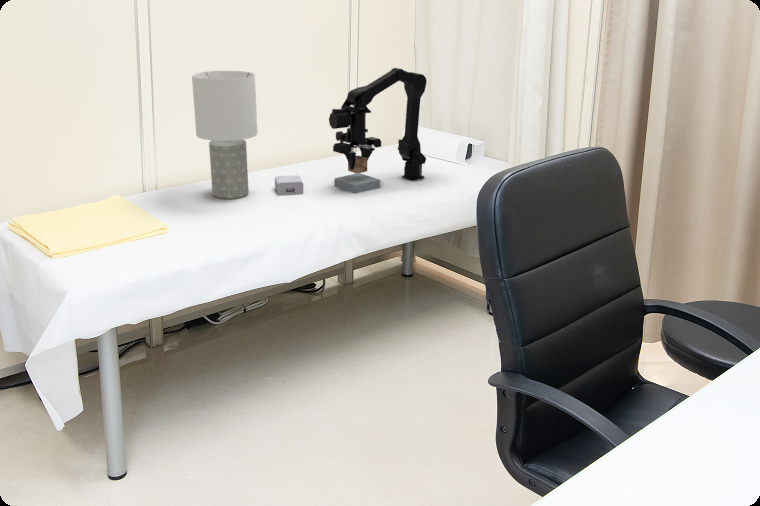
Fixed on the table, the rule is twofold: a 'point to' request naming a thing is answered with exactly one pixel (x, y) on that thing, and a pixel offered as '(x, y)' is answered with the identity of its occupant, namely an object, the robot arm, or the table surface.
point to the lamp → (226, 126)
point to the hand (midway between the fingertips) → (357, 168)
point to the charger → (288, 185)
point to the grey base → (357, 183)
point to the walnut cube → (359, 165)
